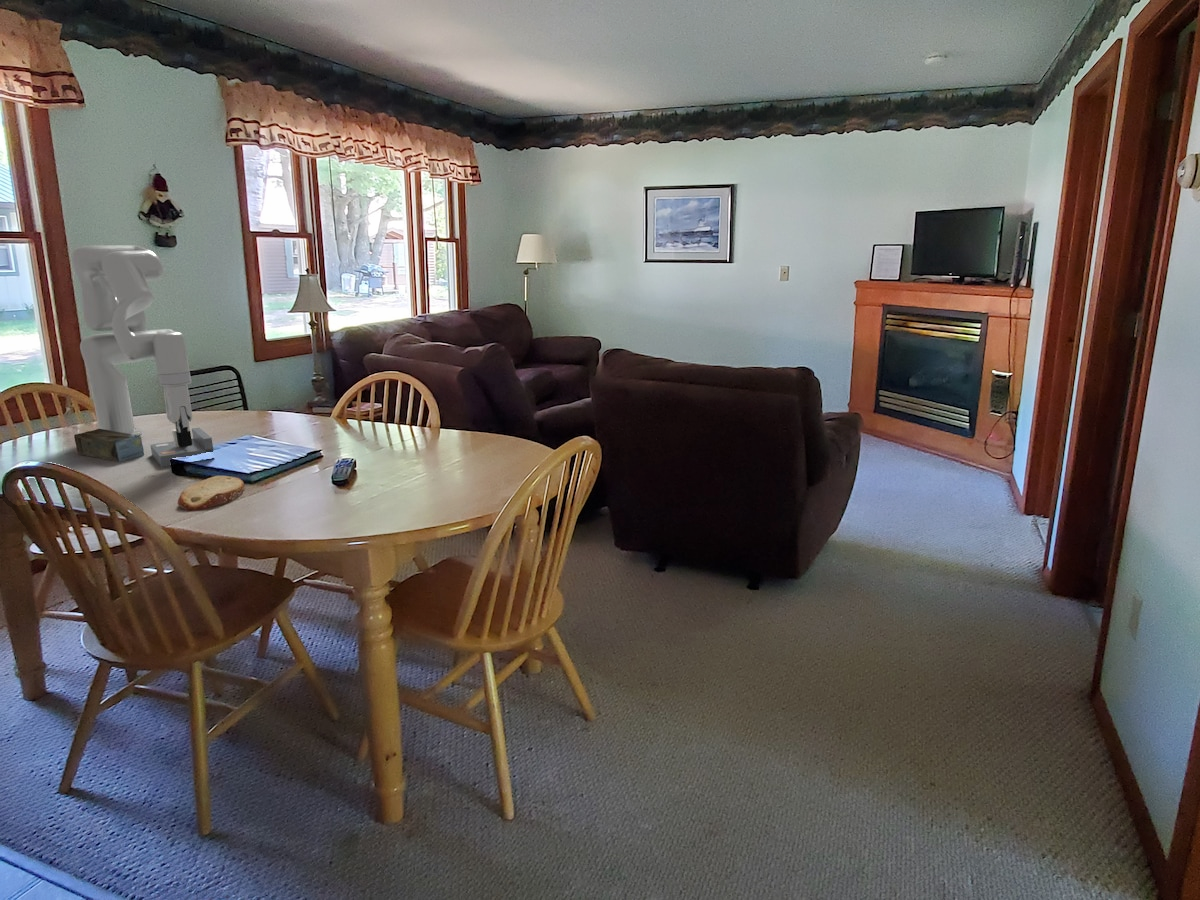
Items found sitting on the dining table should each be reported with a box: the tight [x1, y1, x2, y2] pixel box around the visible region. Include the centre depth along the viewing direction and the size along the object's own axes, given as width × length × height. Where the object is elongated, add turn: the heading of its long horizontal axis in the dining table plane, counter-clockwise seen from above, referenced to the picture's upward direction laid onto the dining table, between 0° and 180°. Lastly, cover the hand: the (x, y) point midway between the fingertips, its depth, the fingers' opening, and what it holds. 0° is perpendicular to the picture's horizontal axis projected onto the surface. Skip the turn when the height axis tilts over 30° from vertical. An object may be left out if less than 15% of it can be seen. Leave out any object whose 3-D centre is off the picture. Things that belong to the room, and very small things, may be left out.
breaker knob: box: [171, 428, 179, 447], centre depth 218 cm, size 2×3×4 cm
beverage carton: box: [73, 428, 145, 462], centre depth 222 cm, size 8×19×7 cm, turn 63°
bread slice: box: [177, 475, 246, 512], centre depth 185 cm, size 18×18×4 cm
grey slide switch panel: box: [149, 427, 214, 468], centre depth 219 cm, size 16×13×6 cm
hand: (185, 445), depth 213 cm, fingers closed
